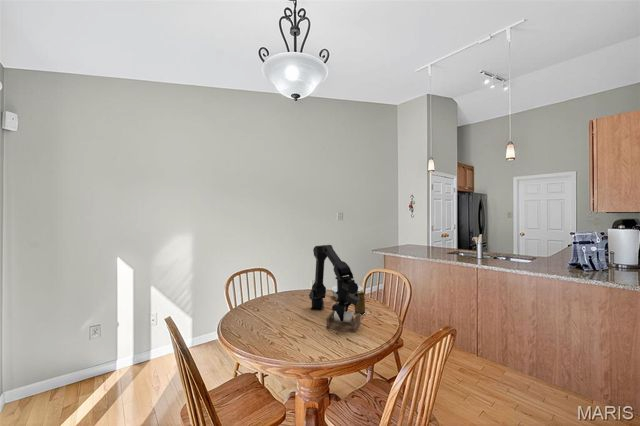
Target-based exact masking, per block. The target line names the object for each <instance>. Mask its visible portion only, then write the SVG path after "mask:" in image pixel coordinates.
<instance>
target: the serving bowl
mask: <svg viewBox="0 0 640 426" xmlns="http://www.w3.org/2000/svg"><path fill="white" fill-rule="evenodd" d="M363 289H364V288H363V287H362V286H360V285H358V291H363ZM336 292H337V285H334V286H332V287H331V294H332V295H333V296H334V297H335V298H336V299H338V296H337V294H336ZM363 292H364V291H363ZM353 295H354V294H353Z"/></svg>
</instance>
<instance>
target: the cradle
mask: <svg viewBox="0 0 640 426" xmlns="http://www.w3.org/2000/svg"><path fill="white" fill-rule="evenodd" d="M331 311H332V312H330V313H329V315H328V316H327V317H326V318H325V319H326V320H325V321H326V330H333V331H334V330H335V331H336V330H337V331H341V332H342V331H343V332H351V333H356V332H357V330H358V329H359V327H360V325H361V315H360V313H358V314H355V317H354V318H353V322H352V323H349V322H341V321H335V320H334V313H335V311H333V310H331Z"/></svg>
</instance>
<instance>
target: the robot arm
mask: <svg viewBox="0 0 640 426" xmlns="http://www.w3.org/2000/svg"><path fill="white" fill-rule="evenodd" d="M312 251H313V257H314V258H315V262H316V263H315V278H314V283H313V284H312V287H311V290H310V292H309V294H308V298H309V299H310V300H311V307H310V309H311V310H312V311H313V310H315V311H321V310H323V308H325V303H324V302H325V301H324V299H326V293H327V288H326V285H324V273H325V261H326V259H327V258H328V260H329V262H330V263H331V264H332V267H333V272H334V274H335V277H334V278H335V280H336V286H337V292H336V294H337V296H338V298H336V302H335V303H334V304H333V305H332V306H331V311H336V312H337V314H338V316H339V318H340V320H341V321H343V319H344V312H345V311H346V312H349V307H350V306H351V305H353V306H354V307H355V306H357V304H358V302H359V300H360V297H359V294H358V293H356V292H357V291H358V286H359V285H358V283H356V281H355V279H354V278H355V277H354V274H353V272H352V270H351V267H350V266H349V265H348V263H346V262H345V261H344V260H341V258H340V256H339V255H338V254H337V252H336V251H335V250H334V248H333V245H331V244H324V245H323V244H322V245H315V246H314V247H313V250H312ZM353 294H354V295H353Z"/></svg>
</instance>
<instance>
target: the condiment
mask: <svg viewBox="0 0 640 426" xmlns="http://www.w3.org/2000/svg"><path fill="white" fill-rule="evenodd" d="M356 293H358V294H359V297H360V300H359V302H358V304H357V306H355V305H354V311H352V312H353V315H354V314H355V315H357V314H358V313H360V314H361V315H360V317H363V316H367V315H369V314H370V312H369V311H366V297H365V292H364V291H357V292H356ZM365 311H366V312H367V313H366V314H364V313H365ZM363 314H364V315H363Z"/></svg>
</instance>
